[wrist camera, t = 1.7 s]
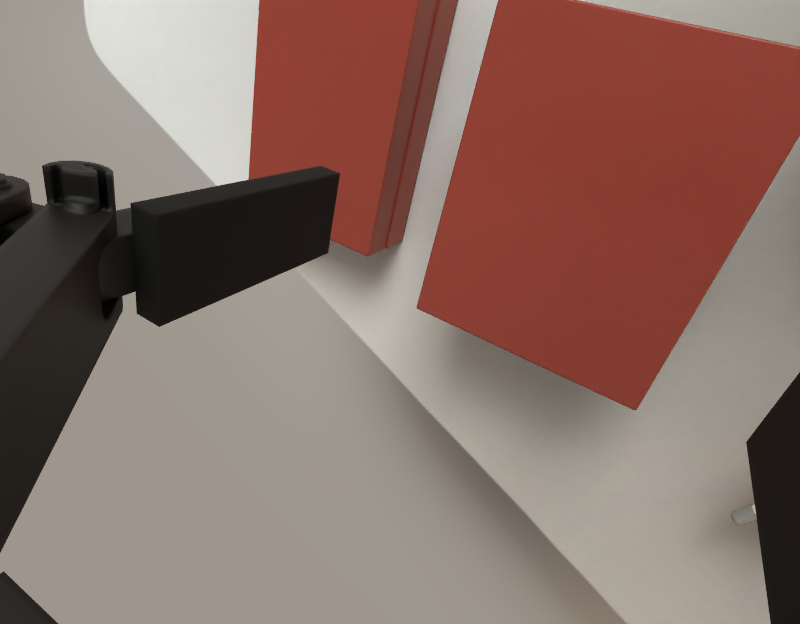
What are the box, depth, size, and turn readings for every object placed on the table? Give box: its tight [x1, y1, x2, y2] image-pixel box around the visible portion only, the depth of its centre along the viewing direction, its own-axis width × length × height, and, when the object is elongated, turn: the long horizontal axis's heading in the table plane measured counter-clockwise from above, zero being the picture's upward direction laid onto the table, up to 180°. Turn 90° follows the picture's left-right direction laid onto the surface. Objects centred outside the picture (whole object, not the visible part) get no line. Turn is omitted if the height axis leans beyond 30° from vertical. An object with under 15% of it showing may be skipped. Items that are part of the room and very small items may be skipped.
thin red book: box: [417, 0, 800, 410], centre depth 21 cm, size 14×11×2 cm
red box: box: [249, 0, 458, 256], centre depth 29 cm, size 14×10×4 cm
